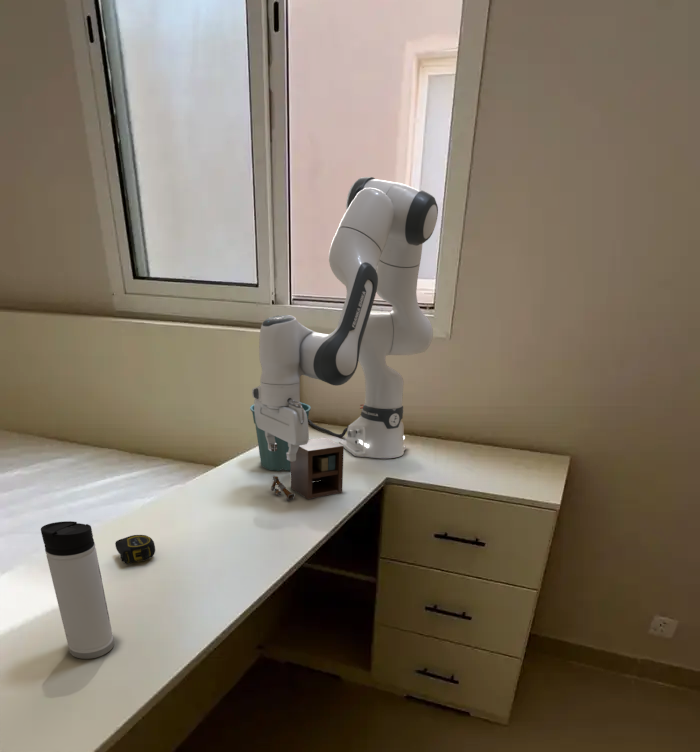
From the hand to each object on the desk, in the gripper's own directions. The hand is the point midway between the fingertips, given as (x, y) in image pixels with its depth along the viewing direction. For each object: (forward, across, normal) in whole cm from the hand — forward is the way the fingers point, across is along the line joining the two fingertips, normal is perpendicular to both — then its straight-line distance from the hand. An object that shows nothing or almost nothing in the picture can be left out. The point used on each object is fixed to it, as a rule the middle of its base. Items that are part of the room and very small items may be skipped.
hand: (281, 455), depth 143 cm
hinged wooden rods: (+11, +1, 0) cm, 11 cm away
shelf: (+10, +1, -10) cm, 14 cm away
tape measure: (+11, -17, +41) cm, 46 cm away
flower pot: (+10, +24, -12) cm, 29 cm away
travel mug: (+12, -44, +55) cm, 71 cm away
